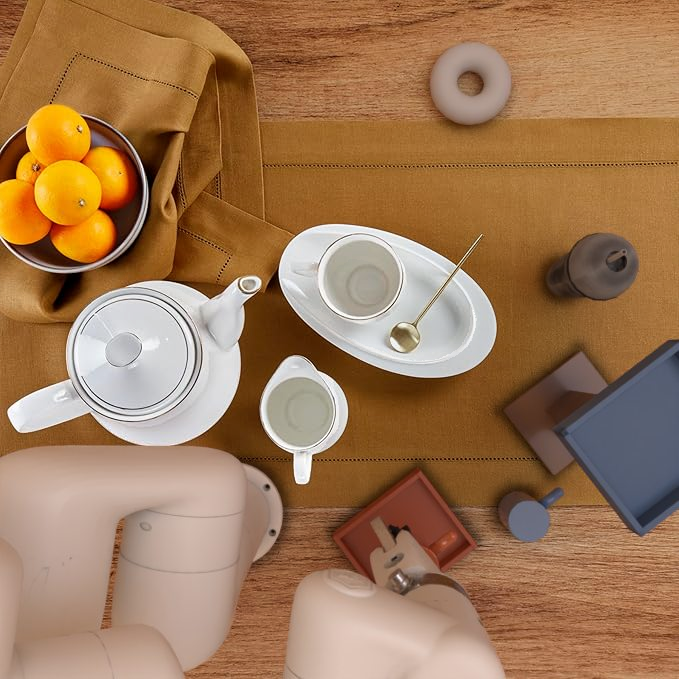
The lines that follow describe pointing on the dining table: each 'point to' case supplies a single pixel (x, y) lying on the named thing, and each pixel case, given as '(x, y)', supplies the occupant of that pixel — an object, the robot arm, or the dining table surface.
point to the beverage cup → (595, 268)
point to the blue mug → (527, 514)
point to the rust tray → (404, 523)
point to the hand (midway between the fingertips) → (412, 555)
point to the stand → (554, 408)
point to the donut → (474, 60)
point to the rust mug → (435, 544)
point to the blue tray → (632, 440)
